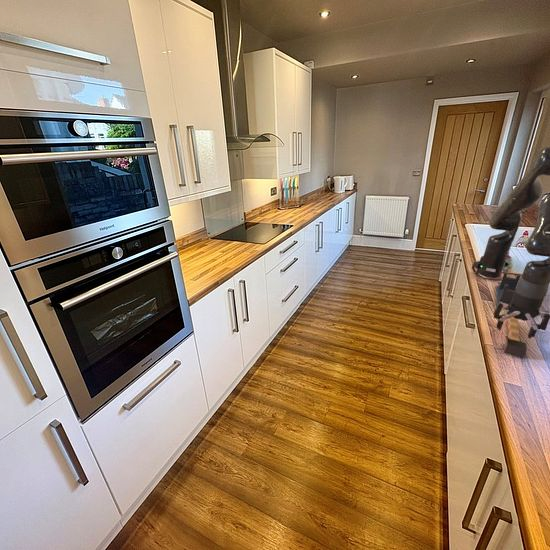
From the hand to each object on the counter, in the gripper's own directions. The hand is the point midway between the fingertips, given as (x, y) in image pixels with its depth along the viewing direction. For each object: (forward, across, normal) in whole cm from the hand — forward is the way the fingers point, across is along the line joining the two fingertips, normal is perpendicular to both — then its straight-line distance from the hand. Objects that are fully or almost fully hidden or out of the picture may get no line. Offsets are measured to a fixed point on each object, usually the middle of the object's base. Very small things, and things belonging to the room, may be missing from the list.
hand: (513, 332), depth 102 cm
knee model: (+1, +1, -75) cm, 75 cm away
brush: (+1, 0, +1) cm, 2 cm away
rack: (+1, -1, -31) cm, 31 cm away
